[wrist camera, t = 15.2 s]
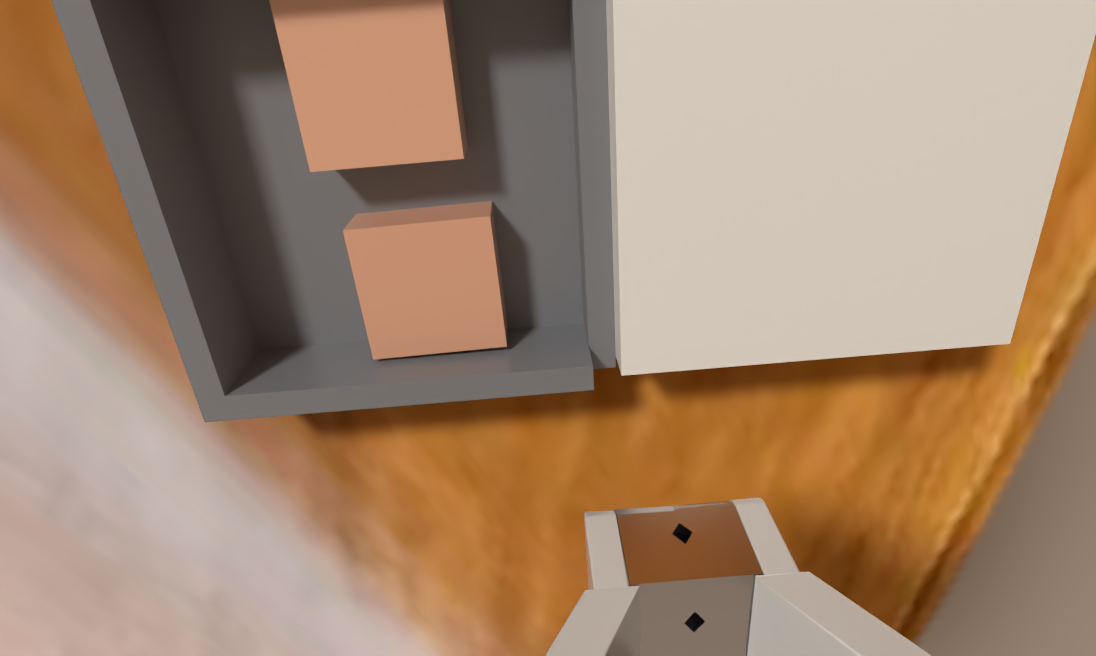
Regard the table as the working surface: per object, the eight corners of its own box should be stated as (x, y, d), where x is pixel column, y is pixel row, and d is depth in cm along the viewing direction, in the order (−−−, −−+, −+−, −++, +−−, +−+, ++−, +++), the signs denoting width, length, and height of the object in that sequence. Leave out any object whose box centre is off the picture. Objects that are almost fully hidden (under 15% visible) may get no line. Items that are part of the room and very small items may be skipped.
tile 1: (440, -15, 19) (447, -13, 21) (268, -1, 19) (290, 0, 21) (464, 158, 21) (467, 147, 23) (310, 172, 21) (326, 159, 23)
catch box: (114, -51, 20) (27, -65, 17) (593, -88, 20) (610, -109, 17) (246, 367, 27) (204, 422, 23) (607, 337, 27) (621, 387, 23)
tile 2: (490, 216, 22) (491, 200, 24) (342, 230, 22) (356, 213, 24) (506, 346, 24) (507, 323, 26) (372, 359, 24) (383, 335, 26)
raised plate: (594, -69, 20) (611, -87, 17) (1031, -103, 21) (1140, -127, 17) (607, 327, 27) (621, 375, 23) (943, 299, 27) (1009, 343, 23)
